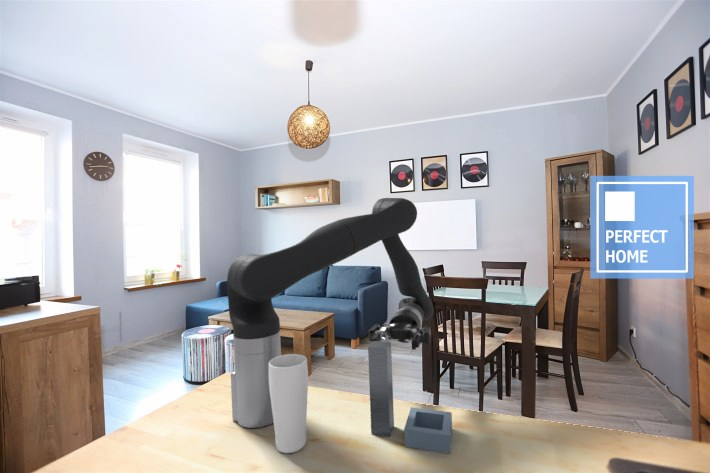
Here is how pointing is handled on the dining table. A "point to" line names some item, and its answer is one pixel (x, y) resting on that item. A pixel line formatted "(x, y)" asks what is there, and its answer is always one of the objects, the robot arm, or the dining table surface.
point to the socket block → (428, 430)
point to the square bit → (381, 388)
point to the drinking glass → (289, 400)
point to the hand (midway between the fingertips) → (393, 344)
